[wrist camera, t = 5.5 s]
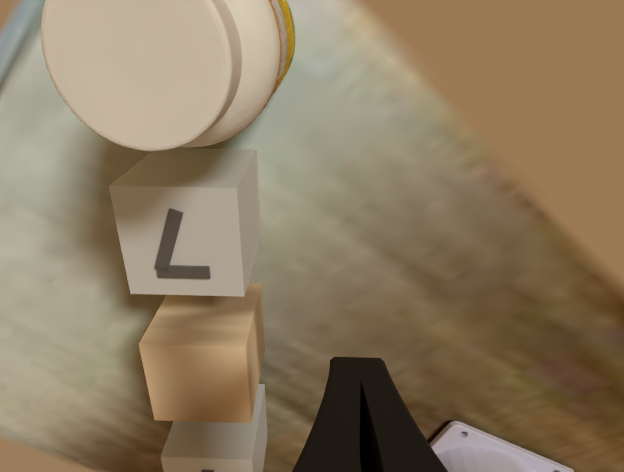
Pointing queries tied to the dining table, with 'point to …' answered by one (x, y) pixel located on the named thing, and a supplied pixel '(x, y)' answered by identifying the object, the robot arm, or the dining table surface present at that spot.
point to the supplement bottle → (167, 66)
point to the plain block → (205, 357)
